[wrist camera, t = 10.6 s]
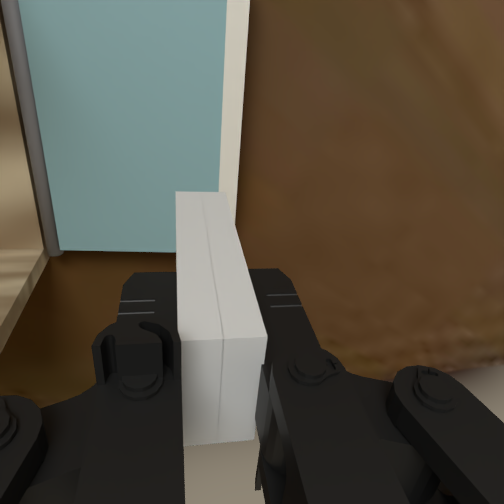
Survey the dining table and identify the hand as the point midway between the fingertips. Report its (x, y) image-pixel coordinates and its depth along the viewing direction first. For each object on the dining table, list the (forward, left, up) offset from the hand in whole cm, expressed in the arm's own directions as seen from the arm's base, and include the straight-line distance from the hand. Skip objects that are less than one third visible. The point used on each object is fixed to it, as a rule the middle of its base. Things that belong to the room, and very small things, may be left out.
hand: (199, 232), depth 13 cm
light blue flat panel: (0, -9, -15) cm, 17 cm away
